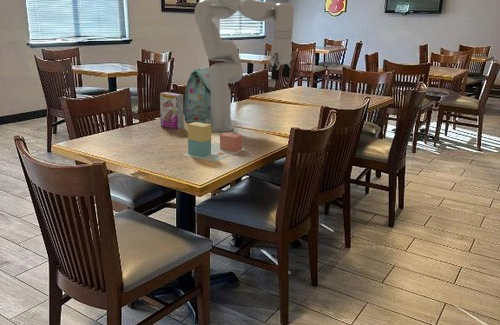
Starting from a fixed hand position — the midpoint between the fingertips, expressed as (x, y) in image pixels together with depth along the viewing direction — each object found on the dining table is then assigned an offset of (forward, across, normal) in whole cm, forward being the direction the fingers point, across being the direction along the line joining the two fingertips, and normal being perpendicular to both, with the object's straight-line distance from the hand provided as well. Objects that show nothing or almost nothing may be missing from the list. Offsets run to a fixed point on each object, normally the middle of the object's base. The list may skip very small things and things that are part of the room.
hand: (280, 78), depth 190 cm
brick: (+28, +19, -11) cm, 36 cm away
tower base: (+28, +32, -18) cm, 46 cm away
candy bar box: (+30, +3, -56) cm, 63 cm away
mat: (+29, +26, -15) cm, 41 cm away
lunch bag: (+30, -22, -54) cm, 66 cm away
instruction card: (+28, +29, -11) cm, 42 cm away
